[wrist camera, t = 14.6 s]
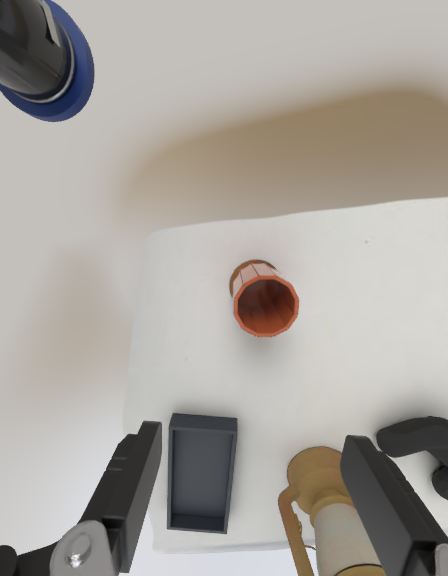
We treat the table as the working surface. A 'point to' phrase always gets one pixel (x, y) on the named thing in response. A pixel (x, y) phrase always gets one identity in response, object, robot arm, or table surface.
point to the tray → (200, 472)
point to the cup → (263, 300)
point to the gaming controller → (419, 444)
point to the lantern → (326, 518)
